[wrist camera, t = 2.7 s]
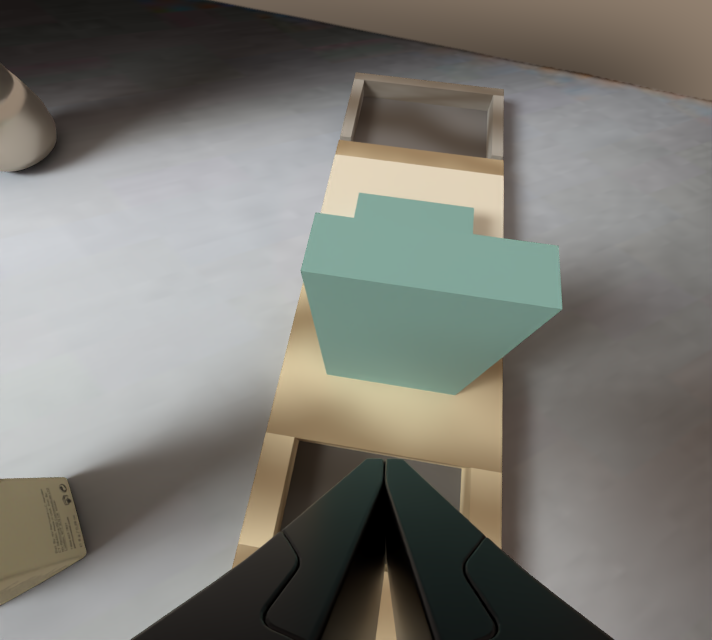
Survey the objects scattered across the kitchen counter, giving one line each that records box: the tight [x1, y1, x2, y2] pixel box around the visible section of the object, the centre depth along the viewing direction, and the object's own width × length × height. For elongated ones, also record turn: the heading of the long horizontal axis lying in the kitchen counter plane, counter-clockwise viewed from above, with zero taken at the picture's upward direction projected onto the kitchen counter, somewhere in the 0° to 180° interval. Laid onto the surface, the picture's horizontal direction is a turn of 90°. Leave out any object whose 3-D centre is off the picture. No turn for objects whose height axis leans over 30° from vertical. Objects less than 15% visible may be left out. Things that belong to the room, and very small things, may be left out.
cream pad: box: [321, 154, 504, 238], centre depth 26 cm, size 8×12×2 cm, turn 81°
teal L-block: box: [301, 193, 562, 395], centre depth 17 cm, size 11×7×11 cm, turn 171°
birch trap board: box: [232, 73, 504, 640], centre depth 24 cm, size 37×12×2 cm, turn 171°
